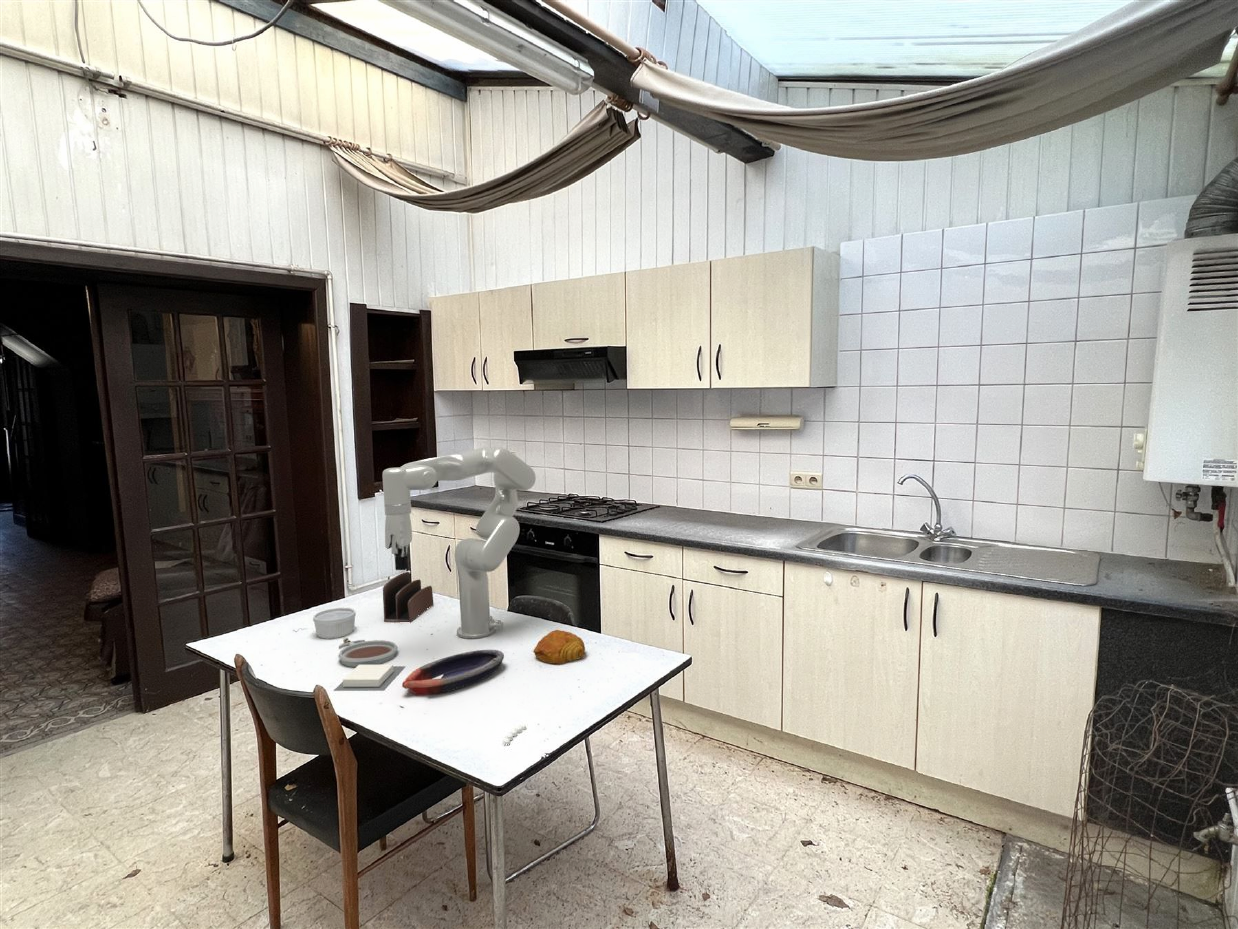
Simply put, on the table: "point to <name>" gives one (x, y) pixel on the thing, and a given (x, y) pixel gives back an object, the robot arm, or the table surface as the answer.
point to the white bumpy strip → (513, 734)
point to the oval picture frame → (366, 652)
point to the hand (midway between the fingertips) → (401, 569)
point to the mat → (381, 688)
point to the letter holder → (405, 599)
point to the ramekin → (334, 622)
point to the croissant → (559, 647)
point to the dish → (453, 672)
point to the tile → (368, 676)
